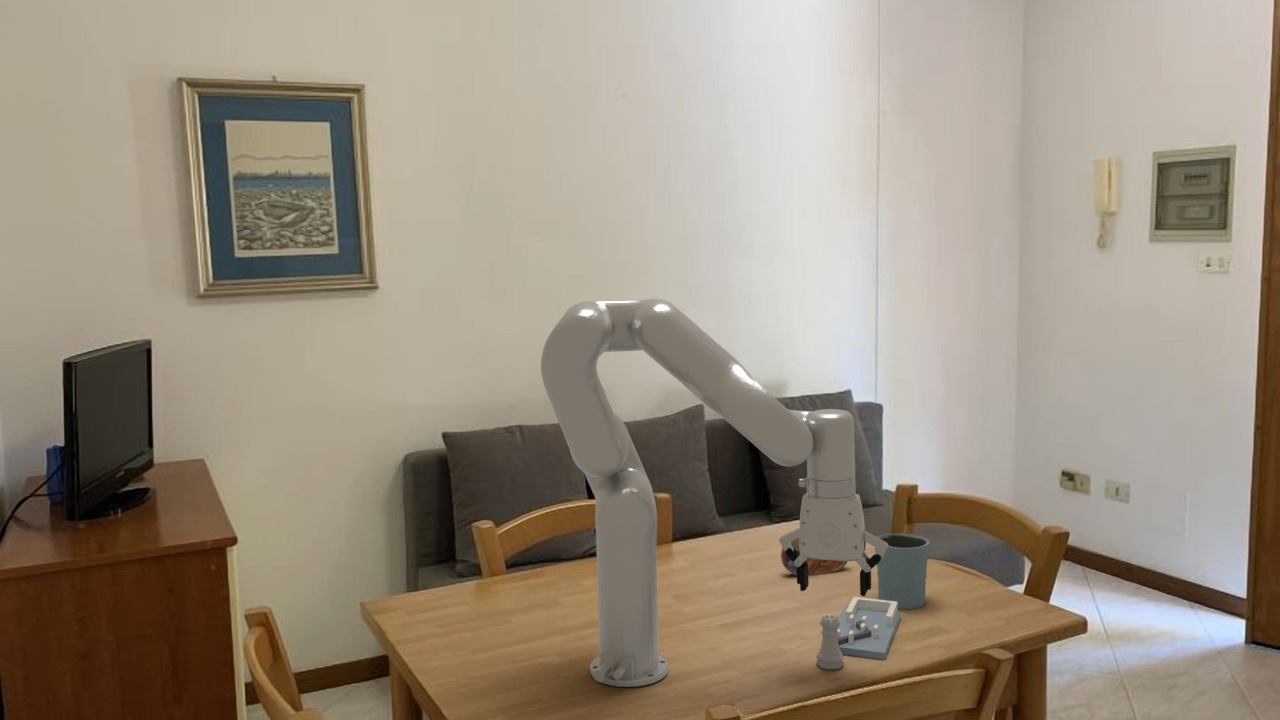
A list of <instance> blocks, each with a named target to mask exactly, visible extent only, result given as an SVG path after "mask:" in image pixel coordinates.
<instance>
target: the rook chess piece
mask: <svg viewBox="0 0 1280 720" xmlns="http://www.w3.org/2000/svg"><path fill="white" fill-rule="evenodd" d="M838 618H839V616H835V615H832V614H831V615H830V617H829V615H823V616H822V618H821V621H820V622H819V625H820V626H821V627H822V631H821V632H820V633H821V635H822V638H821V639H822V641H821V646H820V648H819V651H818V652H817V654H816V658H817V660H816V665H817V666H818V667H819V668H820V669H823V670H827V671H835V670H837V671H838V670H840V669H841V668H842V667H843V666H844V664H845V662H844V655H843V654H842V653H841V650H840V649H839V646H838V634H839V632H838V631H837V629H838V627H839V626H840V622H839V621H838Z"/></svg>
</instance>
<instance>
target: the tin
mask: <svg viewBox="0 0 1280 720" xmlns="http://www.w3.org/2000/svg"><path fill="white" fill-rule="evenodd" d="M791 544H792V547H794V548H795V549H796V550H797V552H798V553H799V554H800V551H799V538H797V539H795V540H793V541H791ZM781 547H782V546H781ZM780 558H781V562H782V566H783V567H784V569H786V571H788V572H789V573H790V574H792V575H794V576H796V577H797V567H796V566H795V565H794V562H793V561H792V560H791V559H790V558H789V557H788V556H787V555H786V554H785V550H784V549H783V547H782V548H781V553H780ZM806 562H807V563H808V577H809V576H816V575H823V574H824V575H825V574H830V573H831V574H832V573H836V572H839V571H841V570H842V569H843V568H844V567H845V566H846V564H847V563H848V562H849V561H836V560H822V559H811V558H807V559H806Z"/></svg>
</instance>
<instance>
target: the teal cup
mask: <svg viewBox="0 0 1280 720" xmlns="http://www.w3.org/2000/svg"><path fill="white" fill-rule="evenodd" d="M877 537H878V538H879V539H881V540H883V541H885V542H887V543H888V548H887V550H886V551H885V553H884V555H883V557H882V559H881V561H880V562H879V563H878V564H877V565H876V569H877V572H876V574H877V582H878V584H877V590H878V591H877V593H878V594H877V595H878V600H887V601H896V602H898V610H916V609H920V608H922V607H924V605H925V603H926V594H927V593H926V585H927V584H926V583H927V581H926V579H927V570H928V559H929V553H930V540H928V539H927V538H925V537H923V536H920V535H916V534H911V533H909V534H908V533H885V534H881V535H878V536H877ZM874 549H875V552H876V551H877V549H876V547H874Z"/></svg>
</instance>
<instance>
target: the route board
mask: <svg viewBox="0 0 1280 720" xmlns="http://www.w3.org/2000/svg"><path fill="white" fill-rule="evenodd" d="M898 610H899V609H898V602H896V601H887V600H879V599H877V598H866V597H858V596H853V597H852V599H851V601H850V602H849V605H844V607H843V609H842V611H841V612H840V614H839V616H838V621H839V622H840V626H839V627H838V629H837V631H838V632H839V634H838V646H839V649H840V650H841V653H842V655H843V656H844V655H845V656H850V657H851V656H852V657H861V658H869V659H874V660H875V659H877V660H882V661H883V660H884V661H885V659H886V657H887V654H888V652H889V649H890V646H891V644H892V642H893V639H894V636H895V633H896V631H897V628H898V625H899V622H900V619H901V611H900V610H899V611H898Z"/></svg>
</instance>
